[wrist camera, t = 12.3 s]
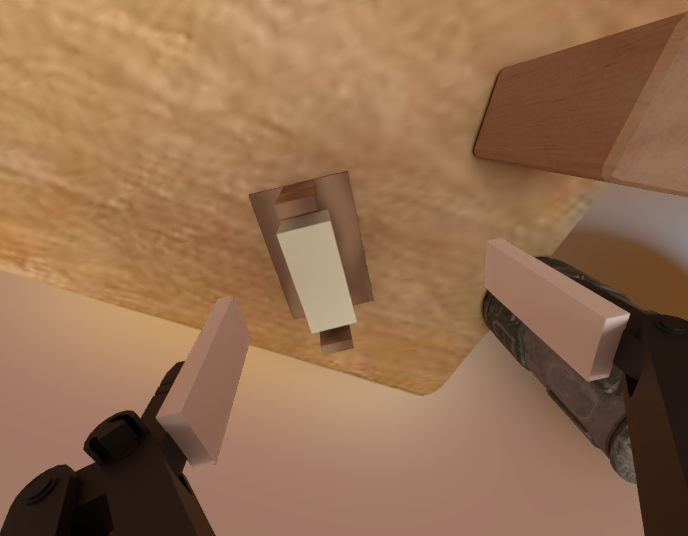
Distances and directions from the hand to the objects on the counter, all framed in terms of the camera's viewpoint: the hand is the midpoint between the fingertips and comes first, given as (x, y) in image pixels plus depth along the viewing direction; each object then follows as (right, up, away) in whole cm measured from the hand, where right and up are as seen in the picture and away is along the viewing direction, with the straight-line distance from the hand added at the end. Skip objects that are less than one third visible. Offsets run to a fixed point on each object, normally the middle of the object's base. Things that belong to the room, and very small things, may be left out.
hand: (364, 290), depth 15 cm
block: (+21, +20, +22) cm, 36 cm away
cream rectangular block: (-4, +2, +24) cm, 24 cm away
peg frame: (-5, +3, +27) cm, 27 cm away
